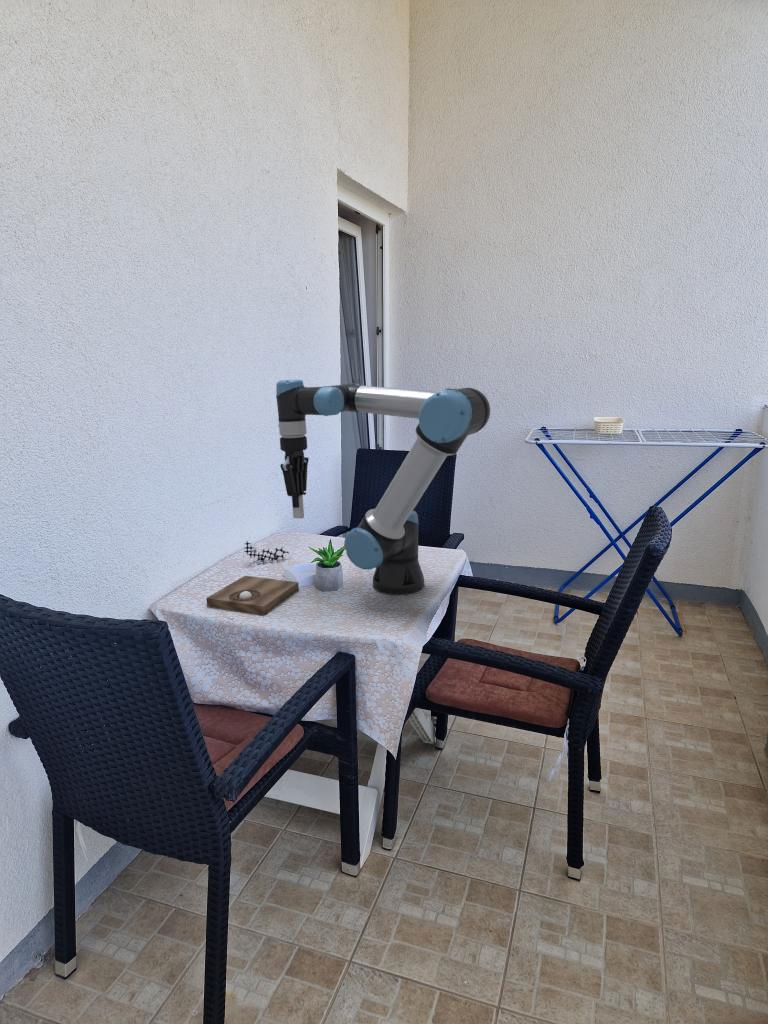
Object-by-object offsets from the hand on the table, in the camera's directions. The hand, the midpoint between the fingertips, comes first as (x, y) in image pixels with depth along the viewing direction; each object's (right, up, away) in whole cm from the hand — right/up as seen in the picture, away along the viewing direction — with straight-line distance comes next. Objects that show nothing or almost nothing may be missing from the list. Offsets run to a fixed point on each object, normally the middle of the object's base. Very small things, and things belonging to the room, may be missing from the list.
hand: (298, 517), depth 188 cm
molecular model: (-14, -15, +26) cm, 33 cm away
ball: (-13, -22, -9) cm, 27 cm away
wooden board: (-12, -23, -4) cm, 26 cm away
